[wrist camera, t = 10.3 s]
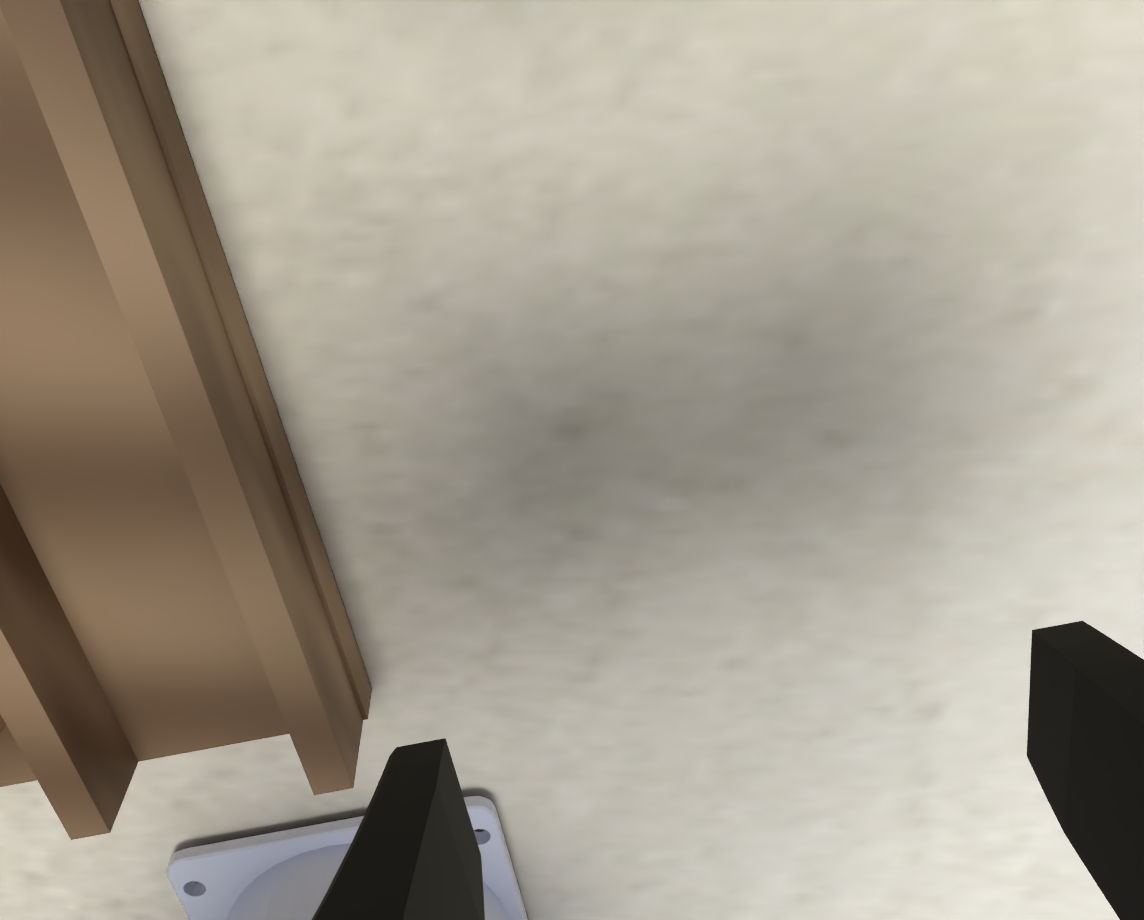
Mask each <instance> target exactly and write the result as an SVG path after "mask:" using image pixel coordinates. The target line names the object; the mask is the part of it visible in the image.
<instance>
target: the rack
mask: <svg viewBox="0 0 1144 920" xmlns="http://www.w3.org/2000/svg"><path fill="white" fill-rule="evenodd" d="M371 692H372V688H371V685H370V682H369V679H368V676H367V673H366V670H365V667H364V664H363V661H362V658H361V655H360V652H359V649H358V646H357V643H356V640H355V638H354V635H353V632H352V629H351V626H350V623H349V620H348V617H347V614H346V611H345V608H344V605H343V602H342V599H341V596H340V593H339V591H338V588H337V585H336V582H335V579H334V576H333V573H332V570H331V567H330V564H329V561H328V558H327V555H326V552H325V549H324V546H323V544H322V541H321V538H320V535H319V532H318V529H317V526H316V523H315V520H314V517H313V514H312V511H311V508H310V505H309V502H308V499H307V497H306V494H305V491H304V488H303V485H302V482H301V479H300V476H299V473H298V470H297V467H296V464H295V461H294V458H293V455H292V452H291V449H290V447H289V444H288V441H287V438H286V435H285V432H284V429H283V426H282V423H281V420H280V417H279V414H278V411H277V408H276V405H275V402H274V400H273V397H272V394H271V391H270V388H269V385H268V382H267V379H266V376H265V373H264V370H263V367H262V364H261V361H260V358H259V355H258V353H257V350H256V347H255V344H254V341H253V338H252V335H251V332H250V329H249V326H248V323H247V320H246V317H245V314H244V311H243V308H242V306H241V303H240V300H239V297H238V294H237V291H236V288H235V285H234V282H233V279H232V276H231V273H230V270H229V267H228V264H227V261H226V258H225V256H224V253H223V250H222V247H221V244H220V241H219V238H218V235H217V232H216V229H215V226H214V223H213V220H212V217H211V214H210V211H209V209H208V206H207V203H206V200H205V197H204V194H203V191H202V188H201V185H200V182H199V179H198V176H197V173H196V170H195V167H194V164H193V162H192V159H191V156H190V153H189V150H188V147H187V144H186V141H185V138H184V135H183V132H182V129H181V126H180V123H179V120H178V117H177V115H176V112H175V109H174V106H173V103H172V100H171V97H170V94H169V91H168V88H167V85H166V82H165V79H164V76H163V73H162V70H161V67H160V65H159V62H158V59H157V56H156V53H155V50H154V47H153V44H152V41H151V38H150V35H149V32H148V29H147V26H146V23H145V20H144V18H143V15H142V12H141V9H140V6H139V3H138V0H0V714H1V716H2V718H3V720H4V721H5V723H6V725H5V727H4V728H3V730H2V732H1V734H0V787H3V786H8V785H13V784H19V783H24V782H30V781H35V780H38V782H39V783H40V785H41V787H42V789H43V791H44V792H45V794H46V796H47V798H48V799H49V801H50V803H51V805H52V807H53V808H54V810H55V812H56V814H57V815H58V817H59V819H60V821H61V822H62V824H63V826H64V828H65V830H66V831H67V833H68V835H69V837H70V838H71V840H72V839H78V838H83V837H89V836H94V835H100V834H105V833H110V831H111V829H112V826H113V824H114V821H115V819H116V816H117V814H118V811H119V809H120V806H121V804H122V801H123V799H124V796H125V794H126V791H127V789H128V786H129V784H130V781H131V779H132V776H133V774H134V771H135V769H136V766H137V763H138V761H143V760H149V759H154V758H159V757H165V756H170V755H176V754H181V753H187V752H192V751H197V750H203V749H208V748H214V747H219V746H224V745H230V744H235V743H241V742H246V741H251V740H257V739H262V738H268V737H273V736H278V735H284V734H289V733H290V736H291V738H292V741H293V743H294V746H295V748H296V751H297V753H298V756H299V758H300V761H301V763H302V766H303V768H304V771H305V773H306V776H307V778H308V781H309V783H310V786H311V788H312V791H313V793H314V795H317V794H323V793H328V792H334V791H339V790H344V789H350V788H353V786H354V779H355V772H356V765H357V759H358V752H359V745H360V738H361V731H362V724H363V720H365V719H368V713H369V706H370V699H371Z"/></svg>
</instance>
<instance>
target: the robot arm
mask: <svg viewBox="0 0 1144 920" xmlns="http://www.w3.org/2000/svg"><path fill="white" fill-rule="evenodd" d="M1027 757H1028V759H1029V761H1030V763H1031V765H1032V767H1033V770H1034V772H1035V774H1036V776H1037V778H1038V780H1039V782H1040V784H1041V787H1042V789H1043V791H1044V793H1045V795H1046V797H1047V799H1048V801H1049V803H1050V805H1051V807H1052V809H1053V811H1054V813H1055V815H1056V817H1057V819H1058V821H1059V823H1060V825H1061V827H1062V829H1063V831H1064V833H1065V835H1066V836H1067V838H1068V839H1069V841H1070V843H1071V844H1072V846H1073V847H1074V849H1075V851H1076V852H1077V854H1078V855H1079V857H1080V858H1081V860H1082V862H1083V863H1084V865H1085V866H1086V868H1087V869H1088V871H1089V872H1090V874H1091V876H1092V877H1093V879H1094V880H1095V882H1096V883H1097V885H1098V886H1099V888H1100V890H1101V891H1102V893H1103V894H1104V896H1105V897H1106V899H1107V900H1108V902H1109V903H1110V905H1111V906H1112V908H1113V910H1114V911H1115V913H1116V914H1117V916H1118V917H1119V919H1120V920H1144V660H1143V659H1141V658H1140V657H1138V656H1137V655H1135V654H1134V653H1132V652H1131V651H1129V650H1128V649H1126V648H1125V647H1123V646H1121V645H1120V644H1118V643H1117V642H1115V641H1114V640H1112V639H1111V638H1109V637H1107V636H1106V635H1104V634H1103V633H1101V632H1100V631H1098V630H1096V629H1095V628H1093V627H1092V626H1090V625H1088V624H1087V623H1085V622H1083V621H1079V622H1074V623H1069V624H1063V625H1058V626H1052V627H1047V628H1041V629H1036V630H1032V647H1031V671H1030V695H1029V719H1028V743H1027ZM476 829H484V830H485V831H483V832H475V831H474V830H476ZM167 876H168V878H169V880H170V882H171V884H172V886H173V888H174V890H175V892H176V894H177V896H178V898H179V900H180V902H181V904H182V906H183V908H184V909H185V911H186V913H187V915H188V917H189V919H190V920H528V918H527V915H526V911H525V908H524V904H523V901H522V897H521V894H520V890H519V887H518V883H517V880H516V876H515V873H514V870H513V866H512V863H511V859H510V856H509V852H508V849H507V845H506V842H505V838H504V835H503V831H502V828H501V824H500V821H499V818H498V814H497V811H496V807H495V806H494V804H493V802H492V801H490V800H489V799H487V798H485V797H481V796H469V797H464V798H463V794H462V791H461V788H460V785H459V781H458V778H457V775H456V771H455V768H454V765H453V762H452V758H451V755H450V752H449V749H448V745H447V742H446V739H439V740H434V741H429V742H423V743H418V744H412V745H407V746H401V747H396V749H395V750H394V751H393V753H392V754H391V755H390V757H389V759H388V761H387V764H386V766H385V769H384V771H383V774H382V776H381V778H380V781H379V783H378V786H377V788H376V790H375V793H374V795H373V797H372V799H371V802H370V804H369V806H368V808H367V811H366V813H365V815H364V816H360V817H355V818H349V819H344V820H338V821H333V822H327V823H322V824H316V825H311V826H306V827H300V828H295V829H289V830H284V831H278V832H273V833H267V834H262V835H256V836H251V837H246V838H240V839H235V840H229V841H224V842H218V843H213V844H207V845H202V846H197V847H191V848H186V849H182V850H179V851H177V852H175V853H174V854H173V855H172V856H171V859H170V862H169V865H168V868H167ZM193 881H197V882H200V883H195V882H193Z"/></svg>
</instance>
